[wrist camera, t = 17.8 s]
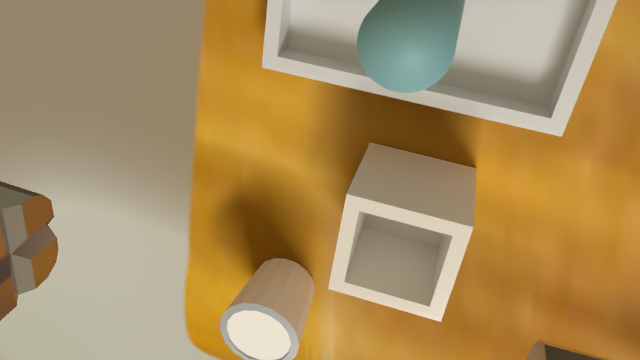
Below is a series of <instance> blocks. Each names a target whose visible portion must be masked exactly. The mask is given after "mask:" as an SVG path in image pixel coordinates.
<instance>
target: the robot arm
mask: <svg viewBox="0 0 640 360" xmlns="http://www.w3.org/2000/svg"><path fill="white" fill-rule="evenodd" d="M53 217H54V215H53V209H52V203H51V200H50V199H48V198H47V197H45V196H44V195H41V194H38V193H35V192H32V191H29V190H26V189H23V188H20V187H16V186H13V185H10V184H7V183H4V182H1V181H0V320H1V319H3V318H4V317H5V316H6V315H7V314H8V313H9V312H10V311H11V310H13V309H14V308H15V307H16V306H17V299H18V295H19V294H22V293H25V292H27V291H30V290H33V289H36V288H37V287H38V286H39V285H40V284H41V283H42V282H43V281H44V280H45V279H46V278H47V277H48V276H49V274H50V272H51V270H52V268H53V267H54V265H55V263H56V259H57V253H58V243H57V237H56V236H55V234H54V233H53V232H52V230H51V229H50V227H49V226H48V224H49V222H50V221H51V220H52V219H53ZM527 360H608V359H605V358H602V357H598V356H595V355H591V354H588V353H584V352H581V351H577V350H574V349H570V348H567V347H563V346H560V345H556V344H552V343H549V342H545V341H542V340H538V341H537V342H536V343H535V344H534V345H533V347H532V349H531V351H530V353H529V355H528V357H527Z"/></svg>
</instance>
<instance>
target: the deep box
mask: <svg viewBox="0 0 640 360" xmlns="http://www.w3.org/2000/svg"><path fill="white" fill-rule="evenodd" d="M475 186H476V168H473V167H469V166H465V165H461V164H457V163H453V162H449V161H445V160H441V159H437V158H433V157H429V156H425V155H421V154H416V153H412V152H408V151H404V150H400V149H396V148H392V147H388V146H384V145H380V144H376V143H372V142H370V143H369V146H368V148H367V150H366V152H365V154H364V157H363V159H362V161H361V163H360V166H359V168H358V170H357V172H356V174H355V177H354V179H353V181H352V183H351V185H350V188H349V190H348V192H347V194H346V200H345V205H344V210H343V215H342V220H341V226H340V231H339V236H338V241H337V246H336V251H335V257H334V262H333V267H332V272H331V277H330V283H329V288H328V289H331V290H334V291H337V292H341V293H344V294H348V295H351V296H354V297H358V298H361V299H365V300H368V301H372V302H375V303H378V304H382V305H385V306H389V307H392V308H395V309H399V310H402V311H406V312H409V313H412V314H416V315H419V316H423V317H426V318H430V319H433V320H436V321H440V322H441V320H442V317H443V314H444V311H445V308H446V305H447V302H448V299H449V296H450V294H451V291H452V288H453V285H454V282H455V279H456V276H457V273H458V270H459V268H460V265H461V262H462V259H463V256H464V253H465V250H466V247H467V245H468V242H469V239H470V236H471V233H472V230H473V227H474V207H475Z"/></svg>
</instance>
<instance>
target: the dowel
mask: <svg viewBox="0 0 640 360" xmlns="http://www.w3.org/2000/svg"><path fill="white" fill-rule="evenodd" d="M464 5H465V0H379V1H378V2H377V3H376V4H375V5H374V7H373V8H372V9H371V10H370V11H369V12H368V14H367V15H366V16H365V18H364V20H363V21H362V23H361V26H360V28H359V32H358V36H357V51H358V56H359V60H360V62H361V65H362V67H363V68H364V70H365V72H366V73H367V74H368V76H369V77H370V78H371V79H372V80H373V81H375V82H376V83H377V84H379V85H380V86H382V87H384V88H386V89H388V90H391V91H395V92H400V93H412V92H417V91H421V90H424V89H426V88H428V87H430V86H432V85H434V84H435V83H437V82H438V81H439V80H440V79H441V78H442V77H443V76H444V75H445V74H446V72H447V71H448V69H449V68H450V66H451V64H452V61H453V58H454V54H455V50H456V45H457V40H458V35H459V30H460V25H461V20H462V15H463V10H464Z"/></svg>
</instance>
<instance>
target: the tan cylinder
mask: <svg viewBox="0 0 640 360" xmlns="http://www.w3.org/2000/svg"><path fill="white" fill-rule="evenodd" d="M314 290H315V287H314V282H313V279H312V277H311V276H310V274H309V273H308V272H307V270H306V269H305V268H303V267H302V266H301V265H299V264H298V263H296V262H294V261H291V260H288V259H285V258H273V259H271V260H268V261H265V262H264V263H263V264H262V265H261V266H260V267H259V268H258V270H257V271H256V272H255V274H254V275H253V276H252V277H251V279H250V280H249V281H248V283H247V284H246V285H245V286H244V288H243V289H242V290H241V292H240V293H239V294H238V295H237V297H236V298H235V299H234V301H233V302H232V303H231V304H230V306H229V307H228V308H227V310H226V311H225V312H224V313H223V315H222V316H221V322H220V330H221V333H222V337H223V340H224V341H225V342H226V344H227V345H228V346H229V347H230V349H231V350H232V351H233V352H234V353H236V354H237V355H238V356H240V357H241V358H243V359H244V360H292V359H293V358H294V357H296V355H297V351H298V348H299V344H300V340H301V337H302V333H303V330H304V326H305V323H306V319H307V315H308V312H309V308H310V305H311V301H312V298H313V294H314Z"/></svg>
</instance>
